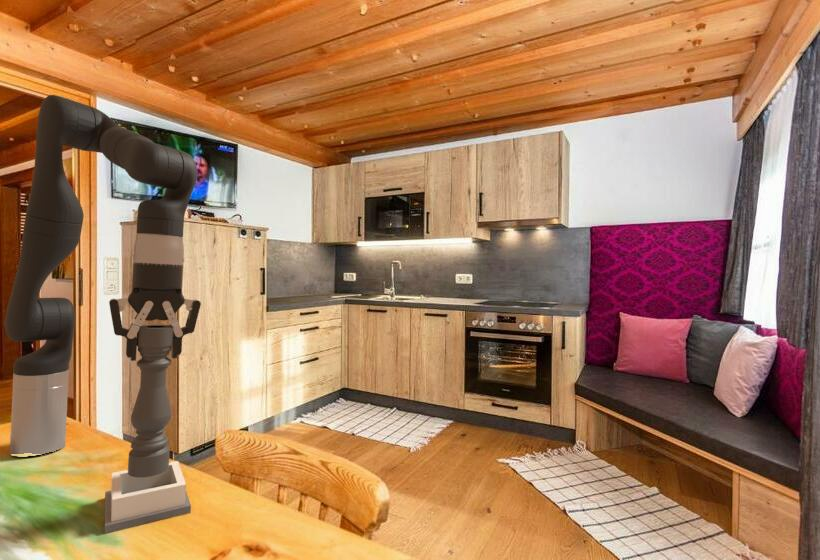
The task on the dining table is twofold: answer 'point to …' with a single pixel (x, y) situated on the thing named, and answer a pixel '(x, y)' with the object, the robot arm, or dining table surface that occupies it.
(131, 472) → the candle holder
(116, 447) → the dining table surface
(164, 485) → the socket dock
